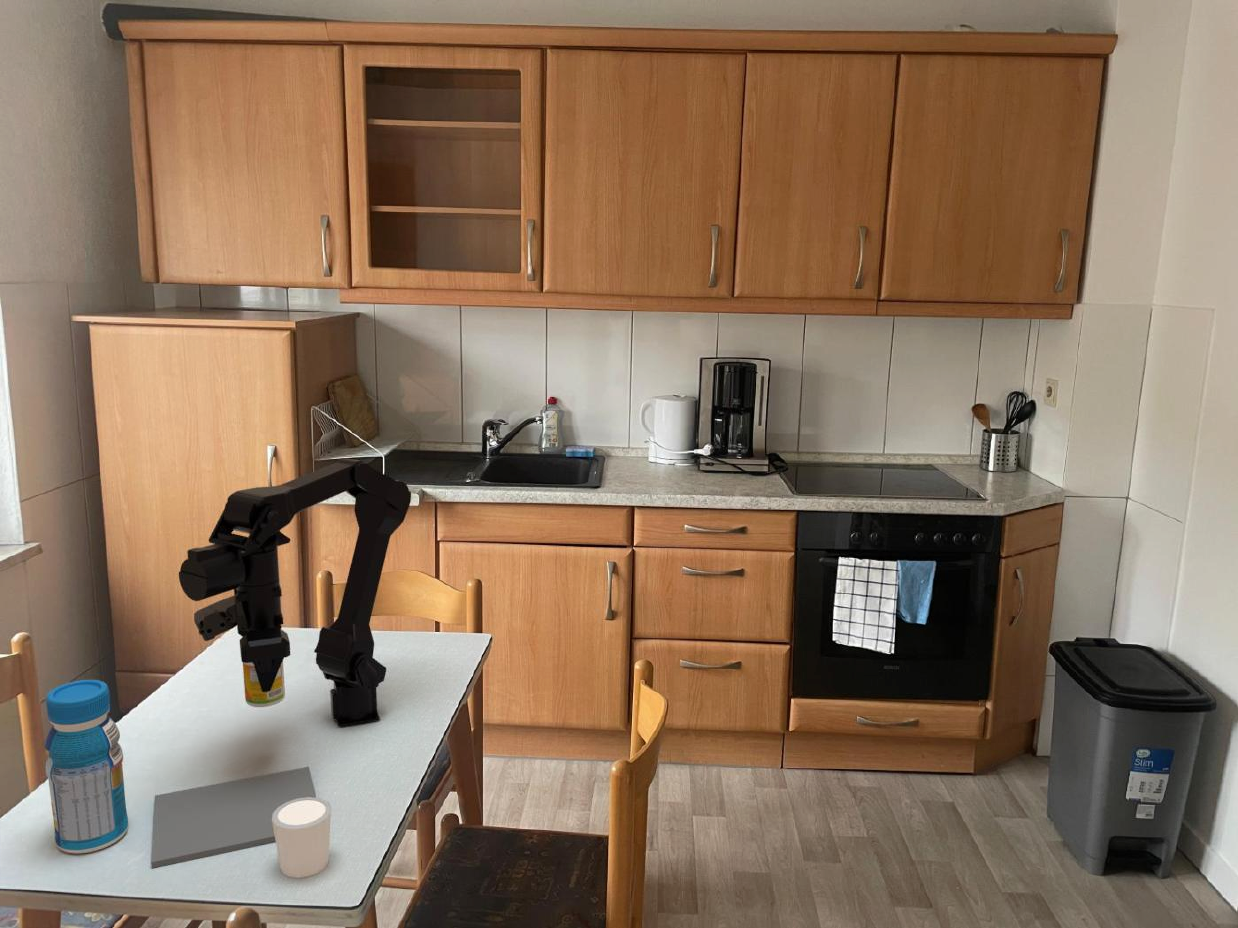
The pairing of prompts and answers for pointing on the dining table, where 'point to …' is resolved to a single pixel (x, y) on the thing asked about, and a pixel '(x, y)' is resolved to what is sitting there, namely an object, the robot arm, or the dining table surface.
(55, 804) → the beverage bottle
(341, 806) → the dining table surface
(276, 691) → the supplement bottle
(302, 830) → the cream cup
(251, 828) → the charcoal mat
